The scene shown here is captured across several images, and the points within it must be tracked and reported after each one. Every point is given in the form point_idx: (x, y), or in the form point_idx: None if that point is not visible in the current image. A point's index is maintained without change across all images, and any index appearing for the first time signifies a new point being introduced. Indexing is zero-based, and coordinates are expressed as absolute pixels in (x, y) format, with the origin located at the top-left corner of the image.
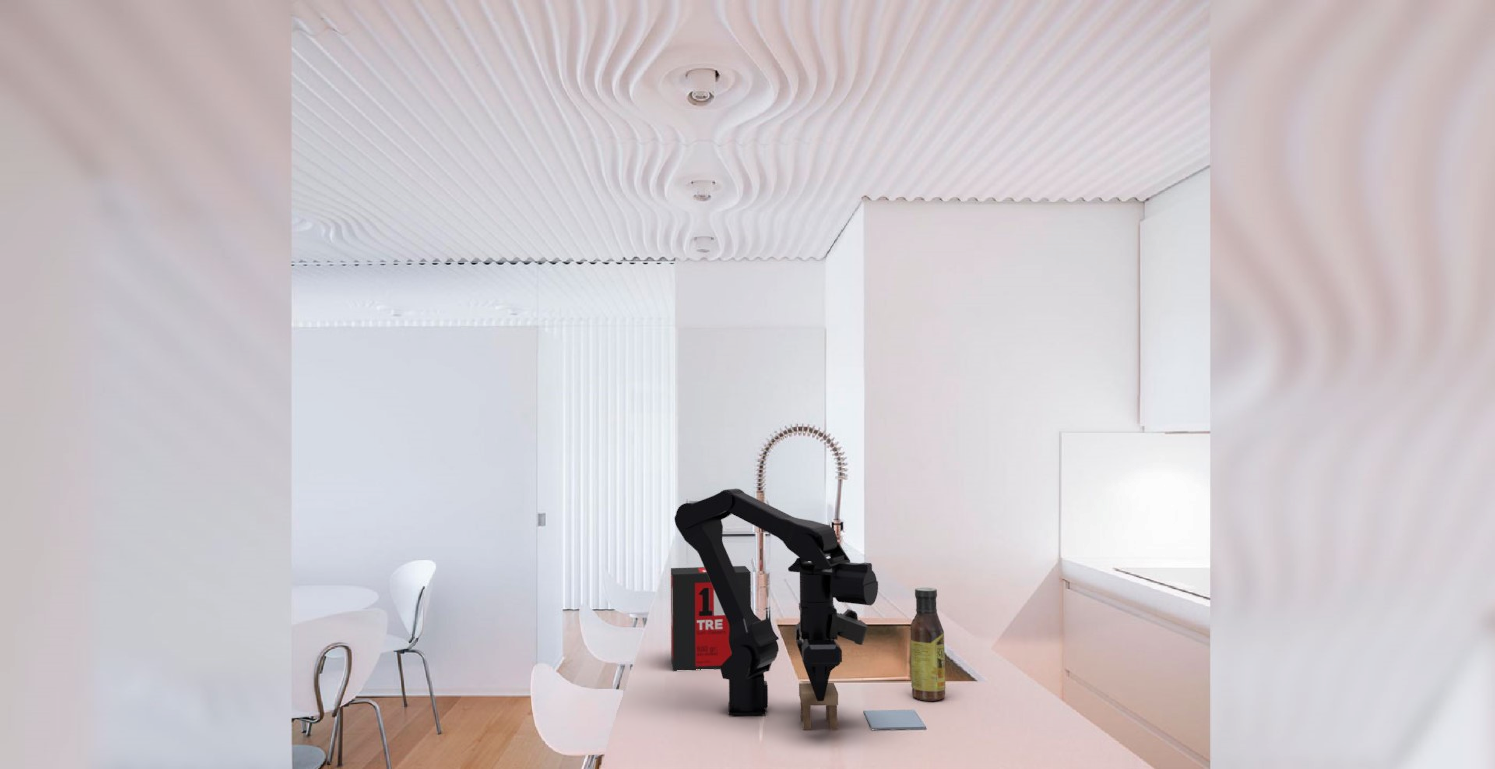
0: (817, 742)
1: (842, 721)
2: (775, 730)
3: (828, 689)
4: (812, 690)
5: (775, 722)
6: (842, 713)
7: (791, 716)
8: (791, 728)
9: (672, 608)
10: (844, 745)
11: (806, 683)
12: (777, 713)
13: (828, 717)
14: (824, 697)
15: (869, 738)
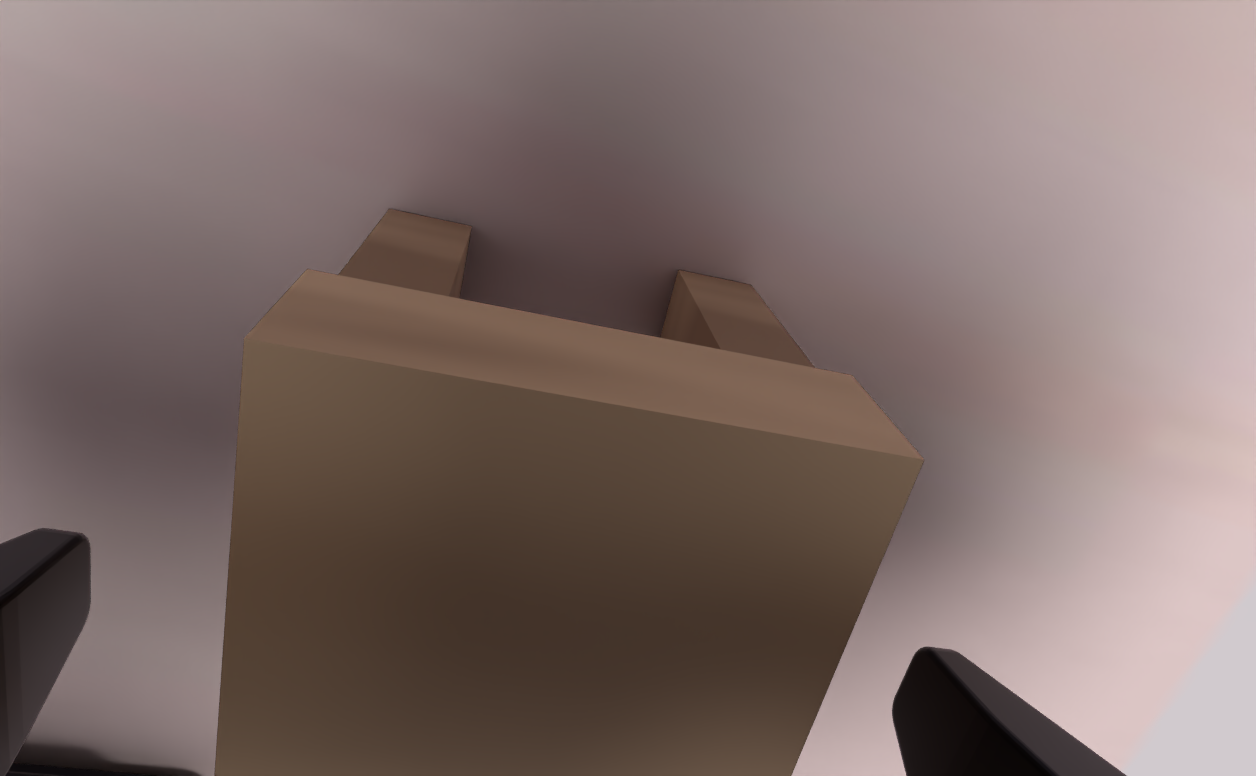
0: (979, 541)
1: (506, 132)
2: None
3: (672, 548)
4: (646, 766)
5: None
6: (194, 14)
7: None
8: None
9: None
10: (1152, 356)
11: (238, 773)
12: (132, 676)
13: (458, 297)
14: (994, 679)
15: (1122, 43)
